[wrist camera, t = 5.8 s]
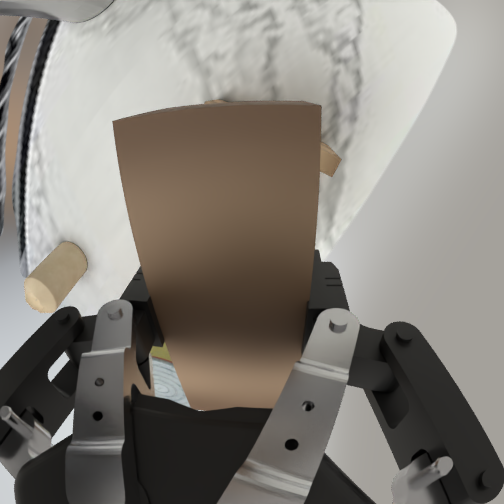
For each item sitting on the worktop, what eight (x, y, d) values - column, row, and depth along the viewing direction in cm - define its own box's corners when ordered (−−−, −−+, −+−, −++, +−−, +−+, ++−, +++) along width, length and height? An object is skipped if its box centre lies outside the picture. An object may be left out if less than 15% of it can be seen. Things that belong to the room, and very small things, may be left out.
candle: (75, 236, 33) (31, 281, 24) (94, 270, 36) (57, 319, 27) (52, 246, 34) (11, 287, 26) (70, 277, 37) (35, 321, 28)
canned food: (216, 350, 42) (203, 419, 32) (145, 330, 41) (119, 394, 31) (232, 297, 36) (218, 376, 26) (147, 274, 35) (108, 344, 25)
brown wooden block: (166, 108, 9) (112, 121, 6) (304, 101, 9) (321, 105, 6) (205, 351, 16) (191, 409, 13) (291, 354, 16) (292, 415, 12)
